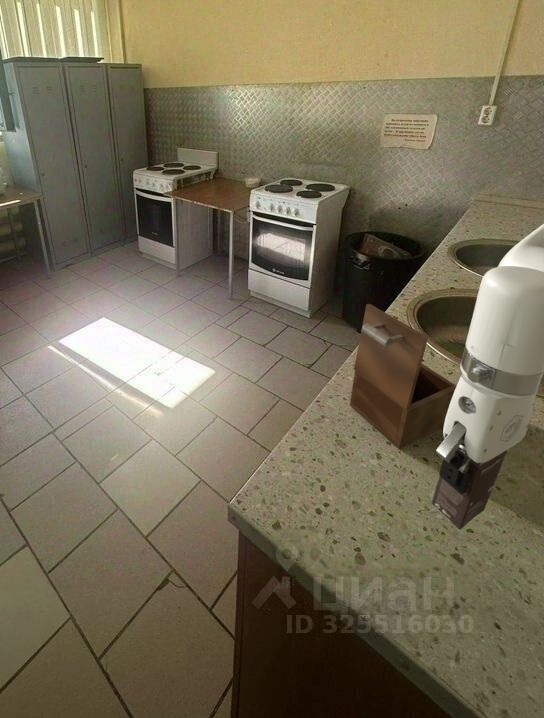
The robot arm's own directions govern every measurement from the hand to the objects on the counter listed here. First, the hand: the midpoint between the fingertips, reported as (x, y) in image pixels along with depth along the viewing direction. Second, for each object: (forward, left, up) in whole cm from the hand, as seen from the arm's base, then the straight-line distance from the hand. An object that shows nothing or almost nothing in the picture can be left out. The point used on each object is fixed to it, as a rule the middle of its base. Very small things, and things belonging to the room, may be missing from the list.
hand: (468, 473), depth 54 cm
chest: (-12, -19, -12) cm, 26 cm away
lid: (-6, -19, +4) cm, 21 cm away
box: (0, 0, -7) cm, 7 cm away
